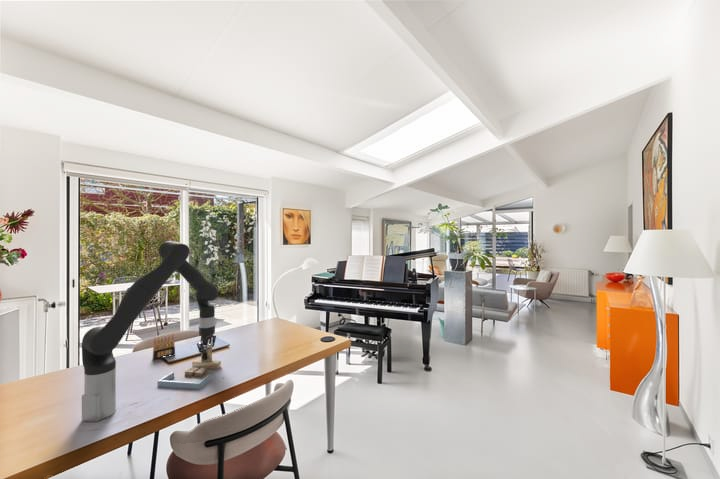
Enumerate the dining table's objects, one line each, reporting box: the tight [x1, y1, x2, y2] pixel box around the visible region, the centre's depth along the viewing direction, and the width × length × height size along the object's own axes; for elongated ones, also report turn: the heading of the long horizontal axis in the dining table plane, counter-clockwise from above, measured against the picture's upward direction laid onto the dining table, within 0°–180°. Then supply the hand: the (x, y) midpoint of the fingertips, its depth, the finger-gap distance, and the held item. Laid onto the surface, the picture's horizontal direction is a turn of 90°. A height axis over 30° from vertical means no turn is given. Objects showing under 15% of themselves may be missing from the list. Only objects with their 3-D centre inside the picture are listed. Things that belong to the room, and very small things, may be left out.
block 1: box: [184, 366, 200, 378], centre depth 154 cm, size 5×4×2 cm
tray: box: [157, 371, 212, 390], centre depth 146 cm, size 10×20×2 cm, turn 84°
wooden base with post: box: [191, 347, 222, 370], centre depth 163 cm, size 3×14×10 cm, turn 84°
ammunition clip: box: [152, 334, 176, 361], centre depth 175 cm, size 11×2×12 cm, turn 139°
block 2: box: [193, 368, 210, 379], centre depth 154 cm, size 5×4×2 cm
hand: (206, 358), depth 163 cm, fingers closed on wooden base with post, 3 cm apart
